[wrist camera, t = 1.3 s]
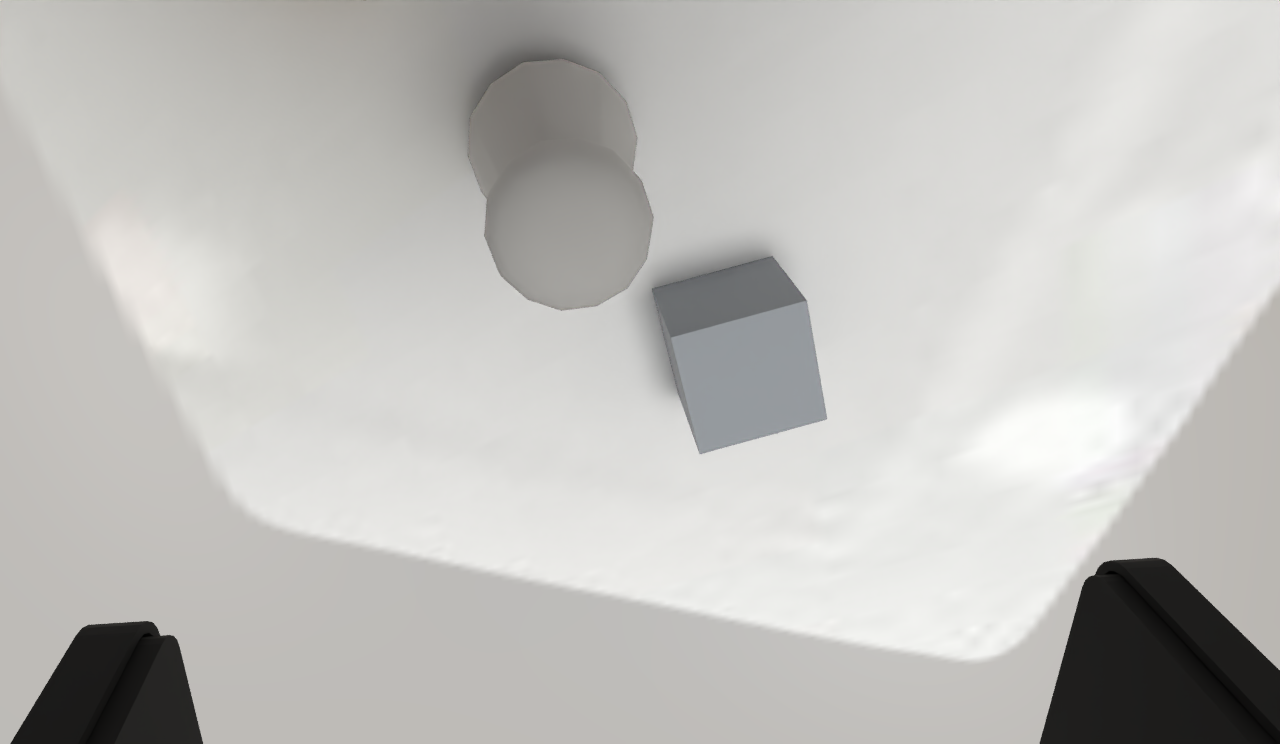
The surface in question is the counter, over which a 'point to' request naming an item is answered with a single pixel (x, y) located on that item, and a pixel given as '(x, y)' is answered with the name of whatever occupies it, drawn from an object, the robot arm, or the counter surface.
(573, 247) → the salt shaker
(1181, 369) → the counter surface
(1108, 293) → the counter surface
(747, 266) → the slate-grey block
